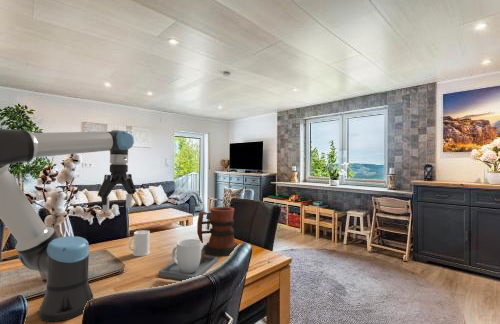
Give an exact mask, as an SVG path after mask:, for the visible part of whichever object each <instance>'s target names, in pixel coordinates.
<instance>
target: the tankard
mask: <svg viewBox="0 0 500 324" xmlns="http://www.w3.org/2000/svg"><path fill="white" fill-rule="evenodd" d="M209 210H210V211H209V212H210V218H211V219H209V220H206V221H205V220H203V219H204V214H205V212H204V211H203V210H201V211H199V213H198V218H197V224H196V226H197V227H196V228H197V231H196V232H197V236H198V240H200V241H201V244H204V240H203V234H210V236H209V240H208V242H207V243H206V244H205V245H203V246H202V250H205V255H207V256H213V257H227V256H230V255H229V254H230V253H231V252H232V251H233V250H234V248H235V247H236V246H237V245H239V244H238V243H237V242H236V240H235V236H234V234H235V229H234V228H233V225H235V219H234V214H235V208H234V207H228V206H214V207H211V208H210V209H209ZM203 225H211V228H209V230H203Z"/></svg>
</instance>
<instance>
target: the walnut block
mask: <svg viewBox="0 0 500 324" xmlns="http://www.w3.org/2000/svg"><path fill="white" fill-rule="evenodd" d="M205 256H206V253H205V250H203V249H201V259H200V263H201V264H202V263H203V261H204V260H205Z"/></svg>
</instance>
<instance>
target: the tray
mask: <svg viewBox="0 0 500 324" xmlns="http://www.w3.org/2000/svg"><path fill="white" fill-rule="evenodd" d="M218 261H219V256H213V255H205V260H204V261H203V263H202V264H201V263H199V266H198V268H197V270H196V271H195V272H194V273H190V274H184V273H182V272H181V271H180V269H179V267H178V264H176V263H175V262H174V261H172V262H171V263H169V264H168V265H166V266H165V267H163V268H162V269H160V270H159V271H158V279H164V280H168V281H174V282H175V281H176V282H182V280H186V279H189V278H192V277H196V276H199V275H202V276H203V275H204V274H205V273H207V271H208V270H210V269H211V268H212V267H213V266H214V265H216V264H217V262H218ZM159 276H161V277H159Z"/></svg>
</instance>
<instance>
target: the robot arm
mask: <svg viewBox="0 0 500 324" xmlns="http://www.w3.org/2000/svg"><path fill="white" fill-rule="evenodd" d="M134 143H135V138H134V135H133V134H132V133H131V132H130V131H128V130H127V131H126V130H119V129H114V130H111V131H70V132H69V131H68V132H67V131H66V132H63V131H62V132H30V131H28V130H27V129H9V128H7V129H6V128H0V220H1V222H2V223H3V224H4V225H5V227H6V228H7V230H8V231H9V232H10V233H11V235H12V236H13V238H14V239H15V240H16V241H17V243H16V245H14V246H15V247H14V248H15V250H16V252H17V253H18V259H19V262H20V263H21V264H22V265H23V266H24V267H25V268H27V269H28V270H32V271H37V272H39V273H41V274H42V273H43V274H44V275H46V290H45V291H46V292H45V293H44V296H43V299H42V302H41V305H40V306H39V309H38V310H39V311H38V318H39V319H40V320H41V321H42V322H43V321H44V322H48V321H51V322H52V321H54V322H61V321H66V320H70V319H73V318H76V317H78V316H80V315H83V314H84V313H83V310H84V307H85V305H86V303H87V301H89V300H91V299H93V300H94V294H93V292H92V288H91V286H90V284H89V261H90V260H89V258H90V257H89V255H90V245H89V244H90V243H89V241H88V240H87V239H86V238H84V237H81V236H77V235H75V236H72V235H69V236H61V237H60V235H59V234H58V232H57V231H56V230H55V229H54V227H52V226H46V224H45V222H43V220H42V218H41V217H40V215H39V214H38V213H37V210H36V209H35V208H34V206H33V205H32V204H31V202H30V200H29V199H28V197H27V196H26V195H25V193H24V191H23V190H22V188H21V187H20V185H19V184H18V182H17V181H16V179H15V178H14V176H13V175H12V174H11V172H10V171H9V167H10V165H13V164H17V163H18V164H19V163H26V162H27V163H29V162H31V161H32V160H34V159H36V158H43V157H54V156H65V155H75V154H76V155H77V154H86V153H97V152H106V151H109V163H110V165H109V172H110V174H104V177H103V181H102V184H101V186H100V187H99V191H98V193H97V196H98V197H99V198H101V204H102V213H109V212H110V197H109V196H110V194H111V192H112V191H113V189H114V188H115V186H117V185H122V187H123V189H124V190H125V191H126V195H125V196H126V197H125V208H128V209H129V208H132V206H133V205H132V204H133V195H135V194H136V192H137V190H136V187H135V183H134V181H133V177H132V173H128V171H129V167H128V166H129V165H128V162H129V149H131V148H132V147H133V145H134Z"/></svg>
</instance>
